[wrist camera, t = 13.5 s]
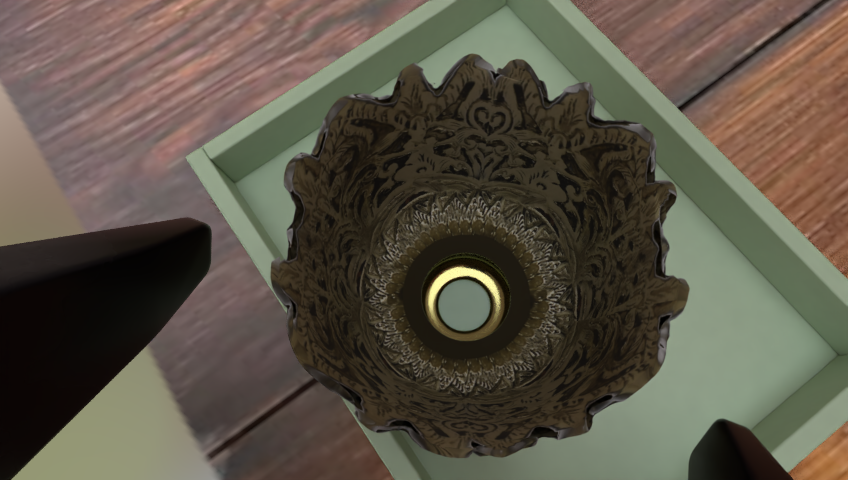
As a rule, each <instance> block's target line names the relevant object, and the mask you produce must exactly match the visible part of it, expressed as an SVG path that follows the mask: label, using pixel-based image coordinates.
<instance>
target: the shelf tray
mask: <svg viewBox="0 0 848 480" xmlns="http://www.w3.org/2000/svg"><path fill="white" fill-rule="evenodd" d="M471 53H473V54H478V55H480V56H481V57H482V58H483V59H484V60H485V61H487V62H489V63H490V64H492V65H493V68H494V69H495V70H496V71H497V69H498V68H501V69H503V68H504V67H505V66H506V65H507V63H508V62H509V61H511V60H515V59H523V60H525V61H526V62H527V63H528V64H529V65H530V66H531V67H532V68H533V70H534V72H535V73H536V75H537V77H538V78H539V80H542V81H544V82H545V84H546V88H547V92H548V97H549V98H548V99H549V100H550V101H551V100H553V99H554V98H556V97H557V96H559V95H560V94H561V93H563V91H564V90H563V89H565V88H566V87H568V86H572V85H575V84H577V83H583V82H588V83H590V84H591V85H592V86H593V93H594V94H593V96H594V98H595V100H596V103H595V106H594V115H595V116H597V117H600V118H601V119H603V120H613V121H614V120H627V121H633V122H637V123H640V124H642V125H643V126H644V127H646V128H647V129H648V130H649V131H651V132H652V133H653V135H654V138H655V141H656V145H657V149H656V168H655V180H669V181H670V182H672V183H673V184H674V185H675V187H676V192H677V198H676V201H675V203H674V205H673V206H672V207H671V208H670V210H669V211H668V212H667V215H666V216H667V218H666V220H665V221H664V223H663V226H662V228H663V232H664V233H663V234H664V236H665V238H666V239H667V241H668V243H669V246H670V250H669V252H668V254H667V257H666V261H665V266H666V275H668V276H672V275H674V276H675V277H676V278H683V279H685V280H686V281H687V283H688V285H689V288H690V291H689V295H688V300H687V303H686V306H685V308H684V310H683V312H682V314H680V315H679V316H678V317H676V318H675V319H673V320H671V321H670V337H669V339H668V341H667V347H666V356H665V360H664V363H663V364H662V366H661V368H660V370H659V372H658V373H657V374H656V375H655V376H654V377H653V378H652V379H651V380H650V381H649V382H648V383H647V384H646V385H644V386H643V387H642V388H641V389H639V390H638V391H637V392H636V393H634V394H633V395H632V396H630V397H629V398H628V399H626V400H625V401H623V402H618V403H615V404H612V405H610V406H608V407H607V408H605V409H603V410H602V411H600V412H599V413H597V414H595V415H594V417H593V423H592V427H591V429H590V430H589V431H588V432H587V433H585V434H582V435H578V436H573V437H568V438H564V439H561V440H557V439H554V438H546V437H542V438H539V439H538V441H537V444H536V445H535V446H533V447H529V448H524V449H521V450H520V451H518V452H516V453H514V454H512V455H509V456H507V457H503V458H501V457H494V456H489V455H488V456H481V457H479V456H477V455H476V454H474V453H472V454H471V455H470V457H468V458H449V457H444V456H441V455H437V454H435V453H432V452H429V451H427V450H425V449H422V448H421V447H420V446H419V445H418V444H416V443H415V442H414V441H413V440H412V439H411V438H410V436H409V435H408V434H407V433H406V432H405V431H402V430H399V431H396V430H395V431H389V432H384V433H376V432H373V431H371V430H369V429H368V428H366V427H365V426H364V425H363V424H362V423H361V422H360V421H358V418H357V416H356V415H355V411H356V410H355V406H354V405H353V404H352V403H350V402H349V401H347V400H346V399H344V398H343V397H341V398H342V399H343V401H344V403H345V404H346V406H347V407H348V409H349V410H350V412H351V413H352V415H353V416H354V418H355V419H356V421H357V423H358V424H359V426H360V427H361V429H362V430H363V432H364V433H365V435H366V436H367V438H368V439H369V441H370V443H371V444H372V446H373V447H374V449H375V450H376V452H377V453H378V455H379V456H380V458H381V459H382V461H383V463H384V464H385V466H386V467H387V469H388V470H389V472H390V473H391V475H392V476H393V478H394V479H395V480H688V464H689V458H690V455H691V453H692V451H693V449H694V448H695V446H696V445H697V444H698V442H699V441H700V440H701V438H702V437H703V436H704V434H705V433H706V432H707V430H708V429H709V428H710V426H711V425H712V424H713V423H714V422H715V421H716V420H717V419H721V418H724V419H727V420H730V421H732V422H735V423H738V424H740V425H743V426H745V427H747V428H748V429H750V430H751V431H752V433H753V434H754V435H755V436H756V437H757V438H758V440H759V441H760V442H761V443H762V444H763V445H764V446H765V448H766V449H767V450H768V451H769V452H770V453H771V454H772V456H773V457H774V458H775V459H776V460H777V461H778V462H779V464H780V465H781V466H782V467H783V468H784V469H785V470H786V472H787V473H788V472H789V471H790V470H792V469H793V468H794V467H795V466H796V465H797V464H798V463H800V462H801V461H802V460H803V459H804V458H805V457H806V456H808V455H809V454H810V453H811V452H812V451H813V450H814V449H816V448H817V447H818V446H819V445H820V444H821V443H822V442H824V441H825V440H826V439H827V438H828V437H829V436H830V435H832V434H833V433H834V432H835V431H836V430H837V429H838V428H840V427H841V426H842V425H843V424H844V423H845V422H846V421H848V279H847V278H846V277H845V276H844V275H843V274H842V273H841V272H840V271H839V270H838V269H837V268H836V267H835V266H834V265H833V264H832V263H831V262H830V261H829V260H828V259H827V258H826V257H825V256H824V255H823V254H822V253H821V252H820V251H819V250H818V249H817V248H816V247H815V246H814V245H813V244H812V243H811V242H810V241H809V240H808V239H807V238H806V237H805V236H804V235H803V234H802V233H801V232H800V231H799V230H798V229H797V228H796V227H795V226H794V225H793V224H792V223H791V222H790V221H789V220H788V219H787V218H786V217H785V216H784V215H783V214H782V213H781V212H780V211H779V210H778V209H777V208H776V207H775V206H774V205H773V204H772V203H771V202H770V201H769V200H768V199H767V198H766V197H765V196H764V195H763V194H762V193H761V192H760V191H759V190H758V189H757V188H756V187H755V186H754V185H753V184H752V183H751V182H750V181H749V180H748V179H747V178H746V177H745V176H744V175H743V174H742V173H741V172H740V171H739V170H738V169H737V168H736V167H735V166H734V165H733V164H732V163H731V162H730V161H729V160H728V159H727V158H726V157H725V156H724V155H723V154H722V153H721V152H720V151H719V150H718V149H717V148H716V147H715V146H714V145H713V144H712V143H711V142H710V141H709V140H708V139H707V138H706V137H705V136H704V135H703V134H702V133H701V132H700V131H699V130H698V129H697V128H696V127H695V126H694V125H693V124H692V123H691V121H690V120H689V119H688V118H687V117H686V116H685V115H684V114H683V113H682V112H681V111H680V110H679V109H678V108H677V107H676V106H675V105H674V104H673V103H672V102H671V101H670V100H669V99H668V98H667V97H666V96H665V95H664V94H663V93H662V92H661V91H660V90H659V89H658V88H657V87H656V86H655V85H654V84H653V83H652V82H651V81H650V80H649V79H648V78H647V77H646V76H645V75H644V74H643V73H642V72H641V71H640V70H639V69H638V68H637V67H636V66H635V65H634V64H633V63H632V62H631V61H630V60H629V59H628V58H627V57H626V56H625V55H624V54H623V53H622V52H621V51H620V50H619V49H618V48H617V47H616V46H615V45H614V44H613V43H612V42H611V41H610V40H609V39H608V38H607V37H606V36H605V35H604V34H603V33H602V32H601V31H600V30H599V29H598V28H597V27H596V26H595V25H594V24H593V23H592V22H591V21H590V20H589V19H588V18H587V17H586V16H585V15H584V14H583V13H582V12H581V11H580V10H579V9H578V8H577V7H576V6H575V5H574V4H573V3H572V2H571V1H570V0H429V1H428V2H426V3H425V4H423V5H422V6H420V7H418V8H417V9H415V10H414V11H412V12H411V13H409V14H407V15H406V16H404V17H403V18H401V19H400V20H398V21H397V22H395V23H393V24H392V25H390V26H389V27H387V28H386V29H384V30H383V31H381V32H379V33H378V34H376V35H375V36H373V37H372V38H370V39H368V40H367V41H365V42H364V43H362V44H361V45H359V46H358V47H356V48H354V49H353V50H351V51H350V52H348V53H347V54H345V55H344V56H342V57H340V58H339V59H337V60H336V61H334V62H333V63H331V64H329V65H328V66H326V67H325V68H323V69H322V70H320V71H319V72H317V73H315V74H314V75H312V76H311V77H309V78H308V79H306V80H305V81H303V82H301V83H300V84H298V85H297V86H295V87H294V88H292V89H290V90H289V91H287V92H286V93H284V94H283V95H281V96H280V97H278V98H276V99H275V100H273V101H272V102H270V103H269V104H267V105H266V106H264V107H262V108H261V109H259V110H258V111H256V112H255V113H253V114H251V115H250V116H248V117H247V118H245V119H244V120H242V121H241V122H239V123H237V124H236V125H234V126H233V127H231V128H230V129H228V130H227V131H225V132H223V133H222V134H220V135H219V136H217V137H216V138H214V139H213V140H211V141H209V142H208V143H206V144H205V145H203V148H198V149H197V150H195V151H194V152H192V153H191V154H189V155H187V156H186V159H187V161H188V162H189V164H190V165H191V167H192V168H193V170H194V172H195V173H196V175H197V176H198V178H199V179H200V181H201V182H202V184H203V185H204V187H205V188H206V190H207V192H208V193H209V195H210V196H211V198H212V199H213V201H214V202H215V204H216V205H217V207H218V208H219V210H220V212H221V213H222V215H223V216H224V218H225V219H226V221H227V222H228V224H229V225H230V227H231V228H232V230H233V232H234V233H235V235H236V236H237V238H238V239H239V241H240V242H241V244H242V245H243V247H244V249H245V250H246V252H247V253H248V255H249V256H250V258H251V259H252V261H253V262H254V264H255V265H256V267H257V269H258V270H259V272H260V273H261V275H262V276H263V278H264V279H265V281H266V282H267V284H268V285H269V287H270V289H271V290H272V292H273V293H274V295H275V296H276V294H275V292H274V289H273V287H272V283H271V278H270V274H271V263H272V261H273V260H275V259H276V258H278V257H279V256H280V261H282V260H284V259H285V260H286V259H287V254H288V238H287V234H286V232H287V228H288V227H289V226H290V225H291V223H292V222H293V218H294V213H295V205H294V202H293V201H292V199H291V196H290V194H289V192H288V191H287V190H286V188H285V187H284V173H285V169H286V166H287V164H288V162H289V161H290V160H291V159H292V158H293V157H295V156H296V155H297V154H299V153H301V152H302V153H307V154H310V155H311V152H312V149H313V147H314V146H315V143H316V139H317V136H318V133H319V130H320V127H321V125H322V122H323V120H324V118H325V117H326V115H327V113H328V111H329V110H330V108H331V107H332V105H333V104H334V103H335V102H336V101H337V100H338V99H339V98H341V97H344V96H348V95H352V94H361V93H365V94H370V95H372V96H373V97H382V96H385V95H392V92H393V91H394V86H395V84H396V82H397V78H398V76H399V73H400V71H402V70H403V69H404V68H405V67H406V66H408V65H410V64H413V63H416V64H417V65H418V66H419V67H421V68H423V70H424V71H423V73H424V75H425V77H426V80H427V81H428V82H429V83H431V84H432V86H433V87H434V88H437V87H439V85H440V84H441V81H442V79H443V77H444V76H445V74H446V73H447V72H448V71H449V70H450V68H451V67H452V66H453V65H454V64H455V63H456V62H457V61H458V60H459V59H461V58H462V57H464V56H466V55H468V54H471ZM495 73H496V72H495ZM434 83H435V84H434ZM562 90H563V91H562ZM276 298H277V299H278V301H279V302H280V304H281V305H282V307H283V309H284V310H285V312H286V313H287V308H286V307H285V306H284V305H283V304H282V302H281V301H280V300H279V298H278V297H277V296H276ZM489 311H490V300H489V297H488V294H487V293H486V291H485V290H484V288H483V287H482V286H480V285H479V284H477V283H476V282H473V281H470V280H458V281H455V282H452V283H451V284H449V285H448V286H447V287H446V288H445V289H444V290H443V292H442V293H441V295H440V298H439V312H440V315H441V317H442V319H443V320H444V321H445V322H446V324H448V325H449V326H450V327H452V328H454V329H456V330H460V331H469V330H473V329H476V328H477V327H479V326H480V325H482V324H483V323H484V322H485V320H486V319H487V317H488V315H489Z"/></svg>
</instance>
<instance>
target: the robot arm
mask: <svg viewBox="0 0 848 480" xmlns="http://www.w3.org/2000/svg"><path fill="white" fill-rule="evenodd" d="M211 239H212V232H211V228H210V226H209V225H208V224H206V223H203V222H201V221H198V220H195V219H192V218H188V217H187V218H180V219H173V220H167V221H161V222H154V223H148V224H141V225H135V226H129V227H122V228H116V229H110V230H103V231H97V232H90V233H84V234H78V235H72V236H65V237H58V238H53V239H46V240H40V241H33V242H26V243H20V244H14V245H7V246H1V247H0V480H11V479H12V478H13V477H14V476H15V475H16V474H17V473H18V472H19V471H20V470H21V469H22V468H23V467H24V466H25V465H26V464H27V463H28V462H29V461H30V460H31V459H32V458H33V457H34V456H35V455H36V454H38V453H39V451H40V450H42V449H43V448H44V447H45V446H46V444H48V442H50V441H51V439H53V438H54V437H55V436H56V435H57V434H58V433H59V432H60V431H61V430H62V429H63V428H64V427H65V426H66V425H67V424H68V423H69V422H70V421H71V420H72V419H73V418H74V417H75V416H76V415H77V414H78V413H79V412H80V411H81V410H82V409H83V408H84V407H85V406H86V405H87V404H88V403H89V402H90V401H91V400H92V399H93V398H94V397H95V396H96V395H97V394H98V393H99V392H100V391H101V390H102V389H103V388H104V387H105V386H106V385H107V384H108V383H109V382H110V381H111V380H112V379H113V378H114V377H115V376H116V375H117V374H118V373H119V372H120V371H121V370H122V369H123V368H124V367H125V366H126V365H127V364H128V363H129V362H131V361H132V360H133V359H134V357H135V356H137V355H138V354H139V352H141V350H143V349H144V348H145V347H146V346H147V345H148V344H149V343H150V341H151V340H152V339H153V338H154V337H155V336H156V335H157V334H158V333H159V332H160V331H161V329H162V328H163V327H164V326H165V325H166V323H167V322H168V321H169V320H170V319H171V317H172V316H173V315H174V314H175V312H176V311H177V310H178V309H179V308H180V306H181V305H182V304H183V303H184V301H185V300H186V299H187V298H188V297H189V295H190V294H191V293H192V292H193V290H194V289H195V288H196V287H197V286H198V284H199V283H200V282H201V281H202V279H203V278H204V277H205V276H206V274H207V272H208V270H209V268H210V264H211ZM688 480H793V479H792V477H791V476H790V475H789V474H788V473H787V472H786V470H785V469H784V468H783V467H782V466H781V465H780V464H779V462H778V461H777V460H776V459H775V458H774V457H773V456H772V454H771V453H770V452H769V451H768V450H767V449H766V448H765V446H764V445H763V444H762V443H761V442H760V441H759V440H758V438H757V437H756V436H755V435H754V434H753V433H752V431H751V430H750V429H748V428H747V427H745V426H743V425H740V424H738V423H735V422H732V421H730V420H727V419H724V418H721V419H717V420H716V421H715V422H714V423H713V424H712V425H711V426H710V428H709V429H708V430H707V432H706V433H705V434H704V436H703V437H702V438H701V440H700V441H699V442H698V444H697V445H696V446H695V448H694V449H693V451H692V453H691V455H690V458H689V464H688Z"/></svg>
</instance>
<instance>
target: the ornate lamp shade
mask: <svg viewBox="0 0 848 480" xmlns="http://www.w3.org/2000/svg"><path fill="white" fill-rule="evenodd" d="M423 71H424V70H423V68H421V67H419V66H418V65H417V64H416V63H413V64H410V65H408V66H406V67H405V68H404V69H403V70H402V71H400V73H399V76H398V78H397V82H396V84H395V86H394V91H393V92H392V95H385V96H382V97H373V96H372V95H370V94H365V93H361V94H352V95H348V96H344V97H341V98H339V99H338V100H337V101H336V102H335V103H334V104H333V105H332V107H331V108H330V110H329V111H328V113H327V115H326V117H325V118H324V120H323V122H322V125H321V127H320V130H319V133H318V136H317V139H316V143H315V146H314V147H313V149H312V152H311V155H310V154H307V153H302V152H301V153H299V154H297V155H296V156H295V157H293V158H292V159H291V160H290V161H289V162H288V164H287V166H286V169H285V173H284V187H285V188H286V190H287V191H288V192H289V194H290V196H291V199H292V201H293V202H294V205H295V213H294V218H293V222H292V223H291V225H290V226H289V227H288V228H287V232H286V234H287V238H288V254H287V259H286V260H285V259H284V260H282V261H280V256H279V257H278V258H276V259H275V260H273V261H272V263H271V274H270V278H271V283H272V287H273V289H274V292H275V294H276V296H277V297H278V298H279V300H280V301H281V302H282V304H283V305H284V306H285V307H286V308H287V323H286V327H287V332H288V337H289V340H290V343H291V346H292V349H293V351H294V353H295V355H296V357H297V359H298V361H299V362H300V364H301V365H302V366H303V367H304V369H305V370H306V371H307V372H308V373H309V374H310V375H311V376H313V377H314V378H315V379H316V380H317V381H319V382H320V383H321V384H322V385H324V386H325V387H326V388H327V389H329V390H330V391H332V392H335V393H336V394H338V395H339V396H341V397H343V398H344V399H346V400H347V401H349V402H350V403H352V404H353V405H354V406H355V410H356V411H355V415H356V416H357V418H358V421H360V422H361V423H362V424H363V425H364V426H365V427H366V428H368V429H369V430H371V431H373V432H376V433H384V432H389V431H395V430H396V431H399V430H402V431H405V432H406V433H407V434H408V435H409V436H410V438H411V439H412V440H413V441H414V442H415V443H416V444H418V445H419V446H420V447H421V448H422V449H425V450H427V451H429V452H432V453H435V454H437V455H441V456H444V457H449V458H468V457H470V455H471V454H472V453H474V454H476V455H477V456H479V457H481V456H488V455H489V456H494V457H501V458H503V457H507V456H509V455H512V454H514V453H516V452H518V451H520V450H521V449H524V448H529V447H533V446H535V445H536V444H537V441H538V439H539V438H542V437H546V438H554V439H557V440H561V439H564V438H568V437H573V436H578V435H582V434H585V433H587V432H588V431H589V430H590V429H591V427H592V423H593V417H594V415H595V414H597V413H599V412H600V411H602V410H603V409H605V408H607V407H608V406H610V405H612V404H615V403H618V402H623V401H625V400H626V399H628V398H629V397H630V396H632V395H633V394H634V393H636V392H637V391H638V390H639V389H641V388H642V387H643V386H644V385H646V384H647V383H648V382H649V381H650V380H651V379H652V378H653V377H654V376H655V375H656V374H657V373H658V372H659V370H660V368H661V366H662V364H663V363H664V360H665V356H666V347H667V341H668V339H669V337H670V321H671V320H673V319H675V318H676V317H678V316H679V315H680V314H682V312H683V310H684V308H685V306H686V303H687V300H688V295H689V291H690V288H689V285H688V283H687V281H686V280H685V279H683V278H676V277H675V276H674V275H672V276H668V275H666V266H665V261H666V257H667V254H668V252H669V250H670V246H669V243H668V241H667V239H666V238H665V236H664V234H663V233H664V232H663V228H662V226H663V223H664V221H665V220H666V218H667V216H666V215H667V212H668V211H669V210H670V208H671V207H672V206H673V205H674V203H675V201H676V198H677V192H676V187H675V185H674V184H673V183H672V182H670V181H669V180H655V168H656V149H657V145H656V141H655V138H654V135H653V133H652V132H651V131H649V130H648V129H647V128H646V127H644V126H643V125H642V124H640V123H637V122H633V121H627V120H614V121H613V120H603V119H601V118H600V117H597V116H595V115H594V106H595V103H596V100H595V98H594V96H593V94H594V93H593V86H592V85H591V84H590V83H588V82H583V83H577V84H575V85H572V86H568V87H566V88H565V89H563V90H564V91H563V90H562V91H563V93H561V94H560V95H559V96H557V97H556V98H554V99H553V100H551V101H550V100H549V99H548V98H549V97H548V92H547V88H546V84H545V82H544V81H542V80H539V78H538V77H537V75H536V73H535V72H534V70H533V68H532V67H531V66H530V65H529V64H528V63H527V62H526V61H525V60H523V59H515V60H511V61H509V62H508V63H507V65H506V66H505V67H504V68H503V69H501V68H498V69H497V71H496V70H495V69H494V68H493V65H492V64H490V63H489V62H487V61H485V60H484V59H483V58H482V57H481V56H480V55H478V54H473V53H471V54H468V55H466V56H464V57H462V58H461V59H459V60H458V61H457V62H456V63H455V64H454V65H453V66H452V67H451V68H450V70H449V71H448V72H447V73H446V74H445V76H444V77H443V79H442V81H441V84H440V85H439V87H437V88H434V87H433V86H432V84H431V83H429V82H428V81H427V80H426V77H425V75H424V73H423ZM495 72H496V73H495ZM434 84H435V83H434ZM458 280H470V281H473V282H476V283H477V284H479V285H480V286H482V287H483V288H484V290H485V291H486V293H487V294H488V297H489V300H490V311H489V315H488V317H487V319H486V320H485V322H484V323H483V324H482V325H480V326H479V327H477V328H476V329H473V330H469V331H460V330H456V329H454V328H452V327H450V326H449V325H448V324H446V322H445V321H444V320H443V319H442V317H441V315H440V312H439V298H440V295H441V293H442V292H443V290H444V289H445V288H446V287H447V286H448V285H449V284H451V283H452V282H455V281H458Z"/></svg>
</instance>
